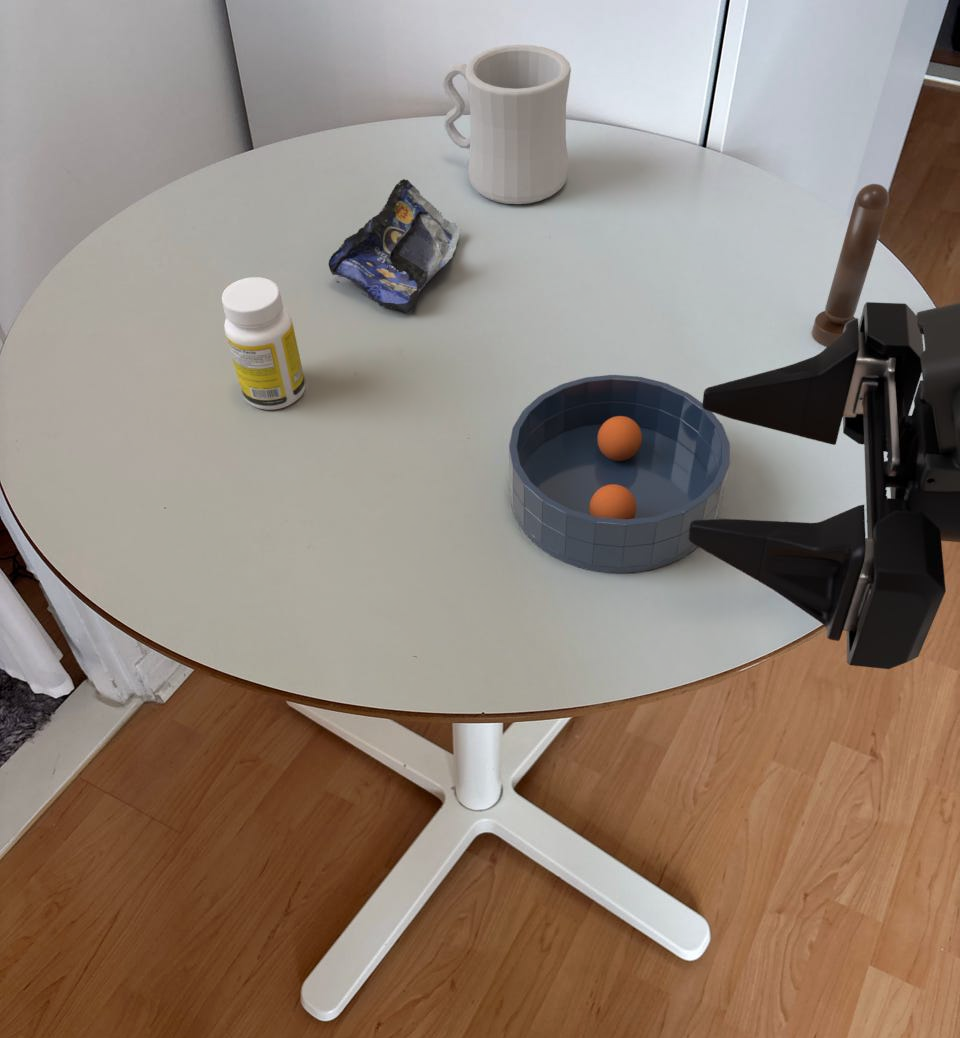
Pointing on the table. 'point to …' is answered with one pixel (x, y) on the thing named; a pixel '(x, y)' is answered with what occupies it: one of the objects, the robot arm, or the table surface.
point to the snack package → (397, 249)
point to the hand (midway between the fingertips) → (696, 461)
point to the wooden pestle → (852, 263)
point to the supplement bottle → (262, 343)
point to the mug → (513, 121)
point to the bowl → (616, 472)
